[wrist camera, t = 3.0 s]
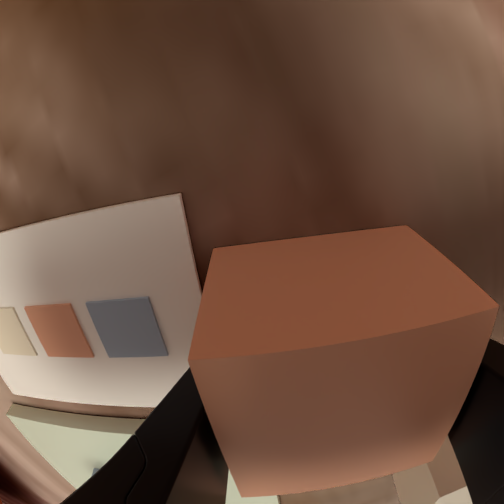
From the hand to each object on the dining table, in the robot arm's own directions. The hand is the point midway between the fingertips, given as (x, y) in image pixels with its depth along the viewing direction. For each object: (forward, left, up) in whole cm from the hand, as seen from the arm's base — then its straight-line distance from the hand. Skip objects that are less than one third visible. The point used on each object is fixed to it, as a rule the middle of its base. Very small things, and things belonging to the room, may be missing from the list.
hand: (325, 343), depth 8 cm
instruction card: (+8, 0, -1) cm, 8 cm away
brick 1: (0, 0, -1) cm, 1 cm away
